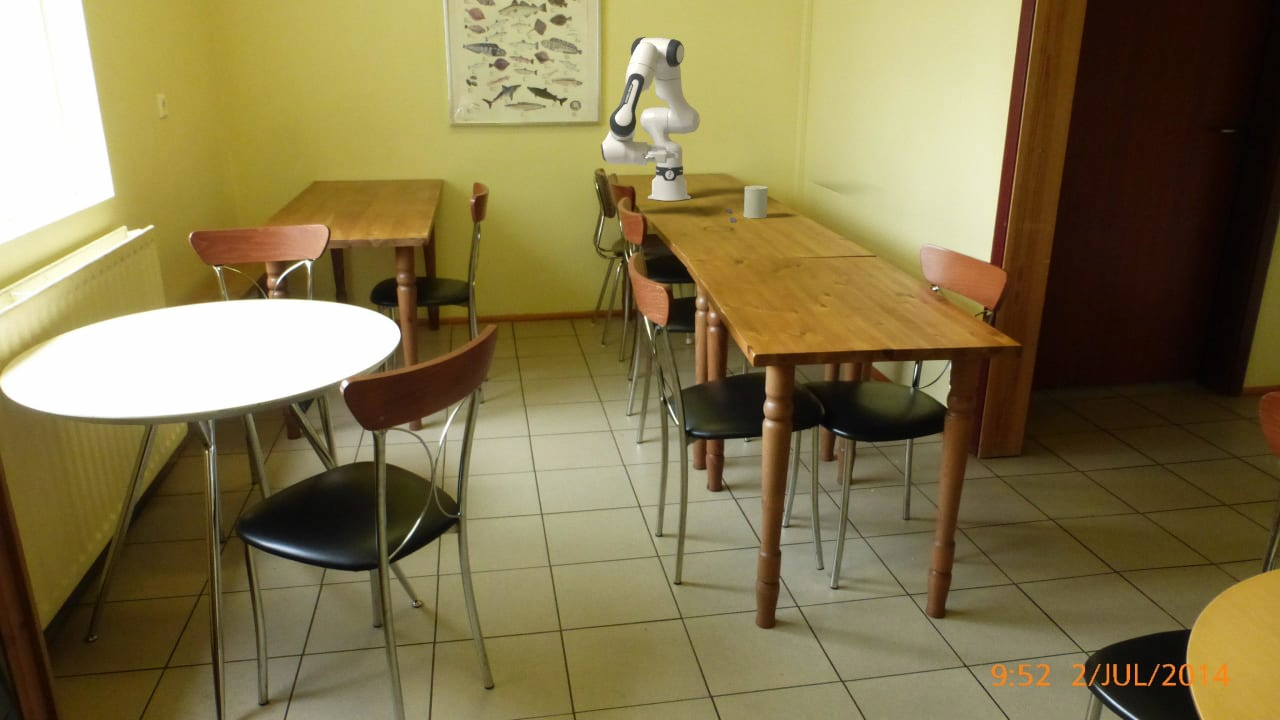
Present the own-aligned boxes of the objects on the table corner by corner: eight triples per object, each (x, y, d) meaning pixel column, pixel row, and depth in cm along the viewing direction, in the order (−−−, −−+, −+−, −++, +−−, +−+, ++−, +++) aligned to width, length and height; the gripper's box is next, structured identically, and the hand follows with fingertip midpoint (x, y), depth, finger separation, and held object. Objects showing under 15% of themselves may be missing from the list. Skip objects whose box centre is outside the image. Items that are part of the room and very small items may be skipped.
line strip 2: (729, 218, 364) (729, 217, 363) (734, 218, 363) (734, 217, 363) (731, 222, 356) (731, 221, 356) (735, 222, 356) (735, 221, 356)
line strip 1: (726, 209, 383) (726, 208, 383) (730, 209, 383) (730, 208, 383) (727, 212, 376) (727, 212, 376) (731, 212, 376) (731, 212, 376)
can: (743, 218, 364) (744, 187, 360) (743, 214, 372) (744, 184, 369) (767, 219, 363) (768, 187, 359) (766, 214, 371) (767, 184, 368)
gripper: (643, 149, 352) (680, 150, 353) (642, 141, 371) (677, 143, 372) (642, 166, 355) (678, 167, 355) (642, 157, 374) (676, 159, 374)
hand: (678, 155), depth 363 cm, fingers closed
